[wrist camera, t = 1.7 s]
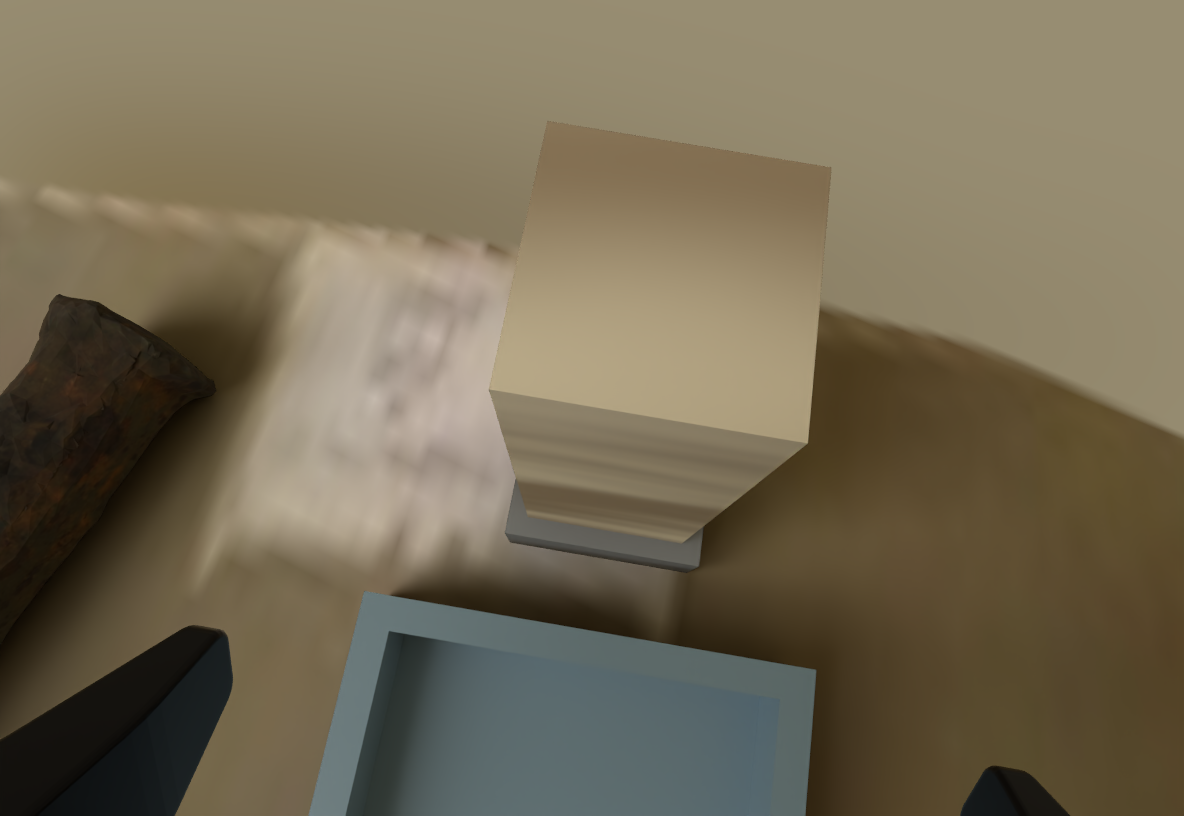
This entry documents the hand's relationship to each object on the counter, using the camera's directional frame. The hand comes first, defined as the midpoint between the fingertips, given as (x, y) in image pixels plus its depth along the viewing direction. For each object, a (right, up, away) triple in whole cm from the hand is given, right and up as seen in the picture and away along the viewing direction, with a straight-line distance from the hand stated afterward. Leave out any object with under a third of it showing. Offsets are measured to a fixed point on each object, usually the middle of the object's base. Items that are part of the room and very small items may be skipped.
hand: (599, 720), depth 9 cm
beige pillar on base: (+1, +2, +13) cm, 13 cm away
